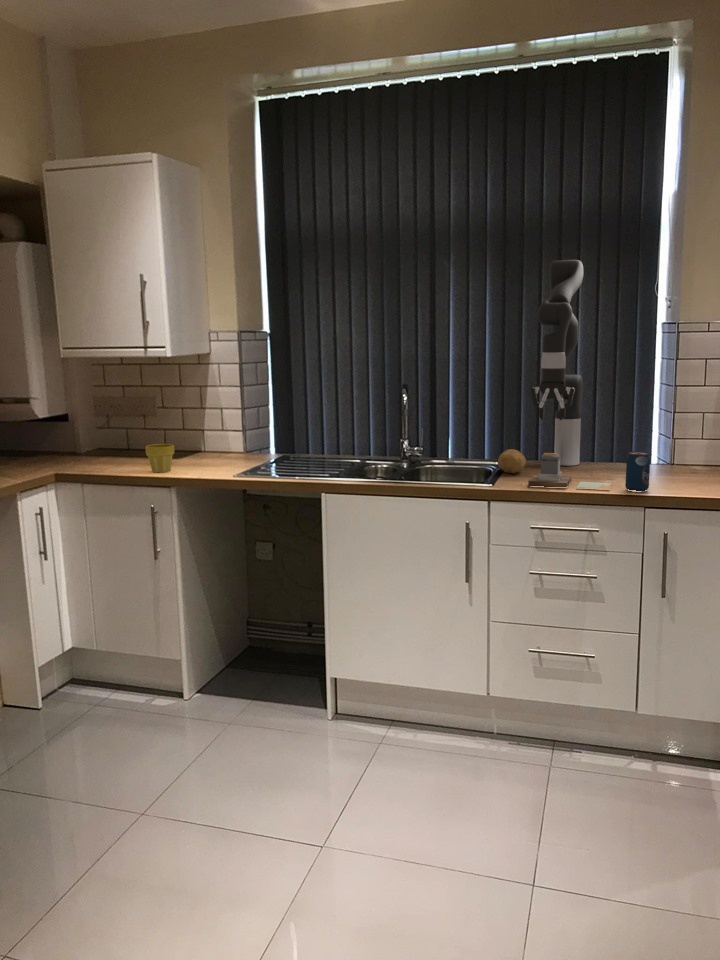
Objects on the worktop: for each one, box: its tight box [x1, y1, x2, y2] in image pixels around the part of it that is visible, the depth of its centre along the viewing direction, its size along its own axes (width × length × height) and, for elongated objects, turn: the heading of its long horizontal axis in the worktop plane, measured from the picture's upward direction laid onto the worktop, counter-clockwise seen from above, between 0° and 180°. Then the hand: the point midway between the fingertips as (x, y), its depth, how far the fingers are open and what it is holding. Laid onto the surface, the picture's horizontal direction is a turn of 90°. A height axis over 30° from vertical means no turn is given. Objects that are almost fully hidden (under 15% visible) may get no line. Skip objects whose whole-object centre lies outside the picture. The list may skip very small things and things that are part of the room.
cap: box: [540, 452, 561, 475], centre depth 263 cm, size 6×6×6 cm
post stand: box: [528, 471, 572, 487], centre depth 264 cm, size 12×12×8 cm
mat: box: [576, 481, 613, 488], centre depth 259 cm, size 10×10×1 cm
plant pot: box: [144, 443, 175, 473], centre depth 301 cm, size 10×10×10 cm
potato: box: [497, 448, 527, 474], centre depth 286 cm, size 10×14×8 cm
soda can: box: [624, 451, 651, 491], centre depth 252 cm, size 7×7×12 cm
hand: (551, 419), depth 261 cm, fingers open, 5 cm apart
